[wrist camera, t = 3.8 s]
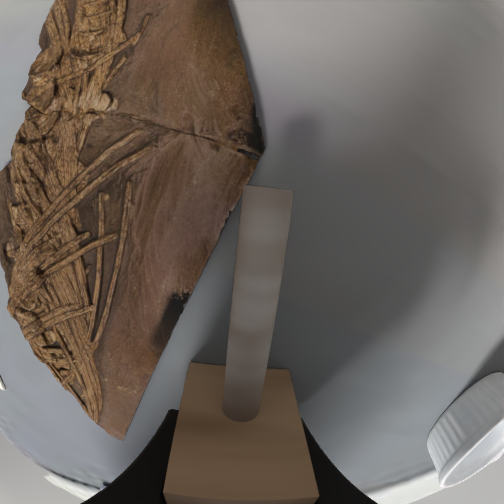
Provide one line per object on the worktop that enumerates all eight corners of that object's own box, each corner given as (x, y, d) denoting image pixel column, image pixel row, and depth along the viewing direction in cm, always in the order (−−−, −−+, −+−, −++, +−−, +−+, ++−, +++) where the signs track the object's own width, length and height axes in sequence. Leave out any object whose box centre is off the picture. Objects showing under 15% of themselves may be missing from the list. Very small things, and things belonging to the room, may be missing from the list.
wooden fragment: (95, -55, 5) (88, -65, 4) (318, -46, 6) (324, -59, 5) (26, 393, 12) (18, 403, 11) (190, 450, 13) (188, 464, 12)
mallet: (270, 439, 12) (282, 539, 6) (191, 434, 12) (179, 535, 6) (321, 192, 9) (436, 226, 3) (198, 178, 9) (128, 188, 3)
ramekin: (399, 461, 15) (418, 502, 10) (458, 373, 12) (496, 416, 8) (471, 436, 15) (491, 465, 11) (521, 356, 13) (552, 383, 9)
